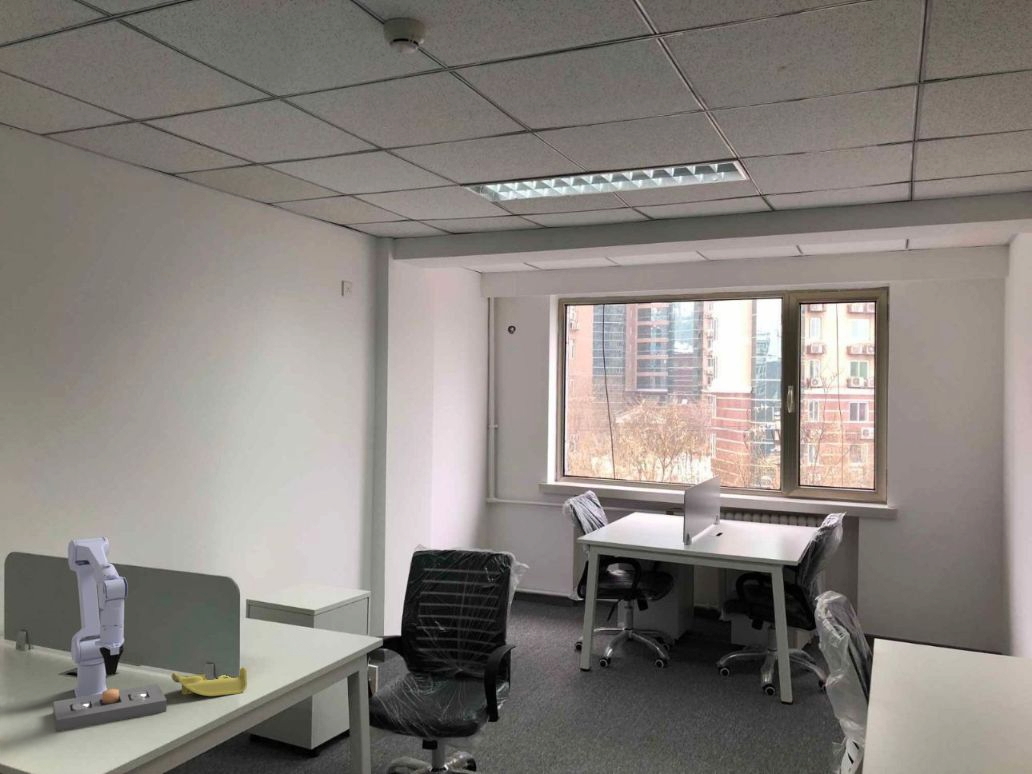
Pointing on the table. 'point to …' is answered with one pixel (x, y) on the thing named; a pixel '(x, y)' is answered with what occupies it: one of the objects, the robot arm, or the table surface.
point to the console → (108, 708)
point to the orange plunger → (110, 696)
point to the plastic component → (212, 684)
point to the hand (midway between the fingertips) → (111, 674)
